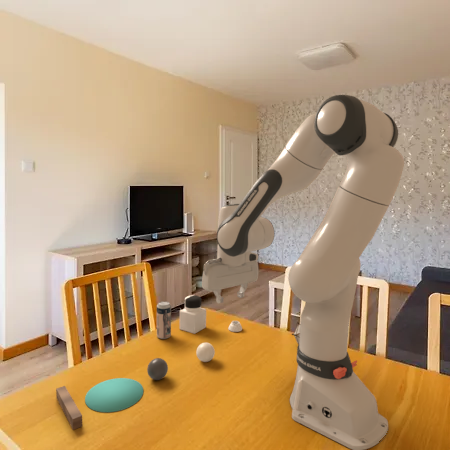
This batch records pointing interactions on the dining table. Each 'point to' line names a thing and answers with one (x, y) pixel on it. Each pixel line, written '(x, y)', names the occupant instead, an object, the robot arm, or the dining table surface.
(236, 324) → the white jar
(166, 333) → the beer can
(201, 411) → the dining table surface
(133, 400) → the teal mark
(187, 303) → the medicine bottle
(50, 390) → the dining table surface
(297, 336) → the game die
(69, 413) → the walnut rail
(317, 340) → the robot arm
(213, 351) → the cue ball
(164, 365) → the dark grey ball
